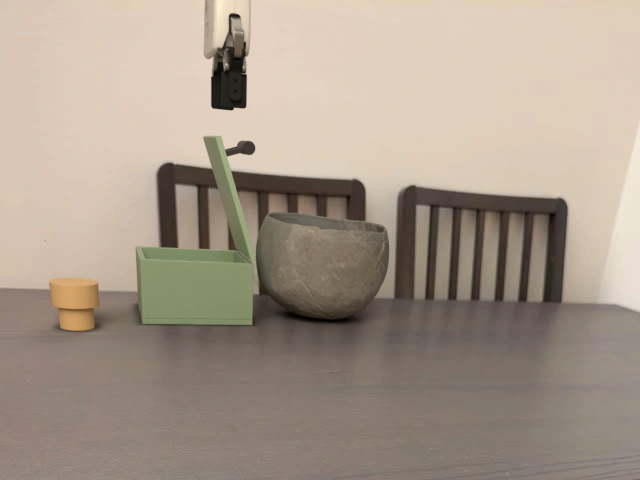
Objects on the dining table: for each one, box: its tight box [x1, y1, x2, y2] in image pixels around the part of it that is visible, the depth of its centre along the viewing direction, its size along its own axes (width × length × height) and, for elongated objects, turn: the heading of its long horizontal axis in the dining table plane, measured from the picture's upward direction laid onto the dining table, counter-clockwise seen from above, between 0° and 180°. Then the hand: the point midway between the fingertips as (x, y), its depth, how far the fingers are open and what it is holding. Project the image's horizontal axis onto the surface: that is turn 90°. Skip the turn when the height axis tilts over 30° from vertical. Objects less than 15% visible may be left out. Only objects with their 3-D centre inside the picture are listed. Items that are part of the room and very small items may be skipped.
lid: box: [202, 135, 256, 262], centre depth 106 cm, size 16×14×6 cm
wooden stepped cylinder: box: [48, 277, 101, 332], centre depth 97 cm, size 6×6×6 cm
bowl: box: [255, 211, 390, 320], centre depth 114 cm, size 20×20×15 cm
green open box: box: [135, 245, 255, 326], centre depth 109 cm, size 16×14×9 cm
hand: (228, 108), depth 100 cm, fingers open, 9 cm apart
